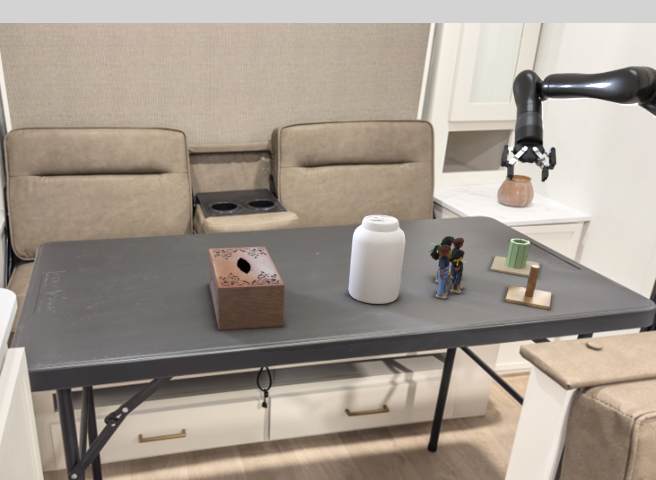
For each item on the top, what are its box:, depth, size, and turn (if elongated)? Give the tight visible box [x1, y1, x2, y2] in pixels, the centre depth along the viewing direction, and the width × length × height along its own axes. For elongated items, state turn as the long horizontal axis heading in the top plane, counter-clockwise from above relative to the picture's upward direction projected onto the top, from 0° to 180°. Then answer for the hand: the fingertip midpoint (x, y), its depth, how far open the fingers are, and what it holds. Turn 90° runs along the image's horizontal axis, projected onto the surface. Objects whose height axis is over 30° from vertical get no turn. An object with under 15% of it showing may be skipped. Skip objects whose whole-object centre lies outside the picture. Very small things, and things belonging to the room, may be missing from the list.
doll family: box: [429, 235, 467, 300], centre depth 150 cm, size 23×9×13 cm, turn 170°
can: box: [348, 214, 406, 305], centre depth 142 cm, size 12×12×20 cm
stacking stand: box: [504, 265, 552, 311], centre depth 144 cm, size 10×10×9 cm
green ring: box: [505, 238, 531, 269], centre depth 164 cm, size 5×5×7 cm
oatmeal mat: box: [489, 255, 541, 278], centre depth 166 cm, size 12×12×1 cm
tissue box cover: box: [208, 246, 286, 331], centre depth 138 cm, size 26×14×10 cm, turn 9°
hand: (527, 179), depth 163 cm, fingers open, 8 cm apart
